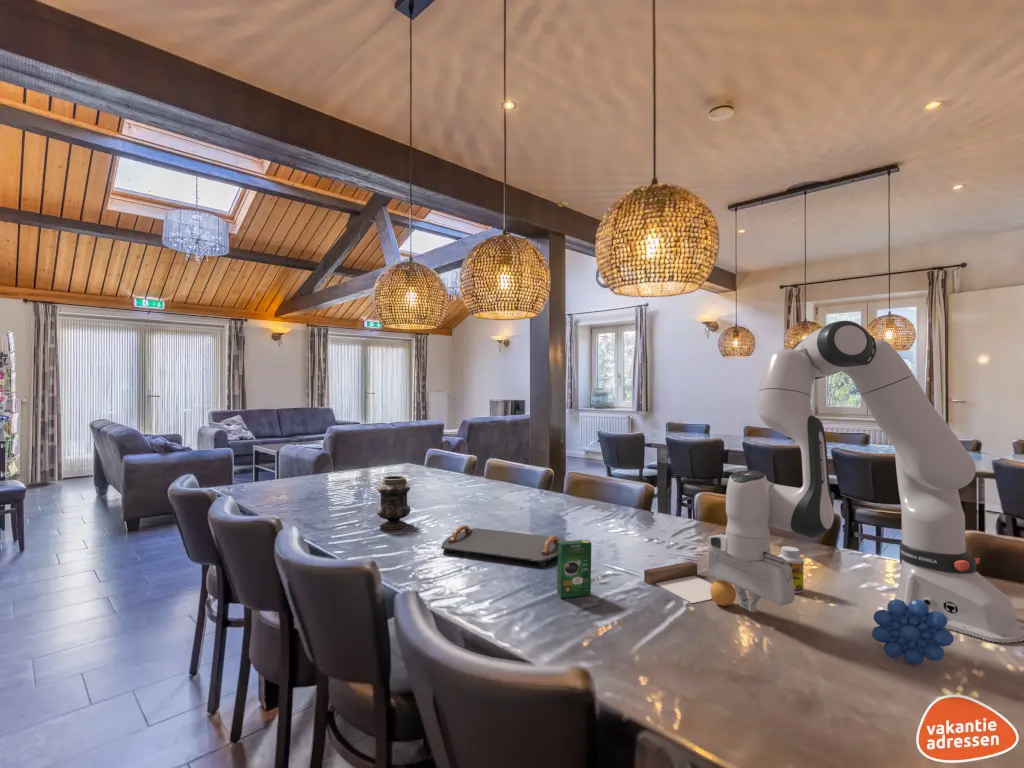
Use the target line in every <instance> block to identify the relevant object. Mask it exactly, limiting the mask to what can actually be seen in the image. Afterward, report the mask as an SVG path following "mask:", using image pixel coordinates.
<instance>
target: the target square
mask: <svg viewBox="0 0 1024 768" xmlns="http://www.w3.org/2000/svg"><path fill="white" fill-rule="evenodd" d="M654 584H655V585H656V586H658V587H660V588H661V589H663V590H665V591H668V592H669V593H671V594H673V595H675V596H676V597H678V596H679V597H678V598H680V597H681V598H680V599H682V600H684V599H685V600H684V601H686V600H687V601H686V602H688V601H689V602H688V603H689V604H691V603H694V604H698V603H702V601H703V602H706V600H707V601H711V599H712V597H711V594H710V588H711V586H712V584H713V583H711V582H709V581H706V580H705V579H702V578H700V577H698V576H697V575H695V576H689V577H684V578H679V579H674V580H669V581H664V582H659V583H654ZM712 600H713V599H712ZM697 602H698V603H697Z"/></svg>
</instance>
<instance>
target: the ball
mask: <svg viewBox="0 0 1024 768" xmlns="http://www.w3.org/2000/svg"><path fill="white" fill-rule="evenodd" d="M711 584H712V586H711V588H710V594H711V597H712V600H713V601H714V602H715V603H716V604H717V605H719V606H722V607H727V606H728V607H729V606H730V605H732V604H733V603H734V602H735V600H736V597H737V593H736V591H735V586H734V585H733V584H731V583H728V582H726V581H724V580H721V579H719V580H716V581H714V582H713V583H711Z"/></svg>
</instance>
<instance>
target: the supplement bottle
mask: <svg viewBox="0 0 1024 768" xmlns="http://www.w3.org/2000/svg"><path fill="white" fill-rule="evenodd" d="M780 550H781V551H780V552H781V553H780V554H778V555H777V557H782V558H784V559H785V560H786V562H787V563H788V564H789V565H790V566H791V568H792V578H793V584H794V593H795V594H801V593H802V592H803V591H804V559H803V558H802V557H801V555H800V553H801V552H800V549H799V548H797V547H793V546H785V545H784V546H782V547H781V549H780ZM784 564H786V563H784Z"/></svg>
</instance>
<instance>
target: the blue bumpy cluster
mask: <svg viewBox="0 0 1024 768" xmlns="http://www.w3.org/2000/svg"><path fill="white" fill-rule="evenodd" d="M886 609H887V610H886ZM886 609H879V610H877V611H875V612H874V614H873V620H874V622H875V624H877V625H878V626H875V627H874V628H873V629H872V631H871V635H872V638H873V639H874V640H875V642H879V643H881V644H883V643H884V644H883V652H884V653H885V655H887V657H890V658H892V659H898V658H900V657H902V658H903V659H904V661H905V662H906V663H907V662H908V663H907V664H909V665H911V664H912V666H914V665H915V666H919V665H922V664H923V663H924V661H925V659H926V660H929V661H932V662H939V661H941V660H942V659H943V658H944V655H945V650H944V647H945V648H946V647H949V646H951V645H952V644H953V642H954V640H955V639H954V635H953V634H952V633H951V632H950V629H947V628H944V627H945V626H946V625H947V618H946V616H945V615H944V614H943V613H941V612H938V611H932V612H929V606H928V605H927V604H926V603H925V602H924V601H921V600H918V599H917V600H914V601H911V602H910V603H909V604H908V606H907V605H906V604H905V602H904V601H901V600H898V599H895V600H894V599H892V600H890V601H889V602H888V603H887V608H886ZM928 612H929V613H928ZM942 647H943V648H942Z"/></svg>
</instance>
